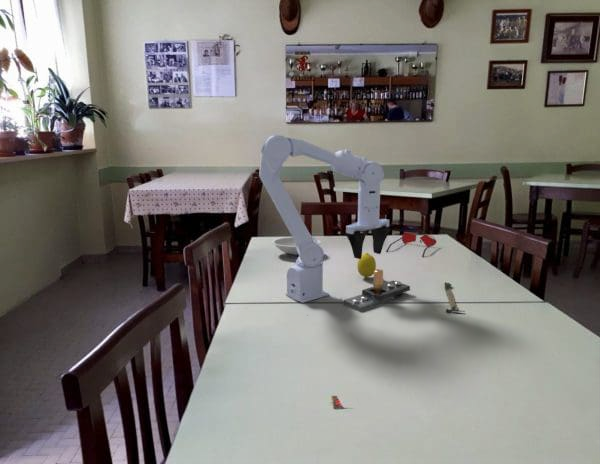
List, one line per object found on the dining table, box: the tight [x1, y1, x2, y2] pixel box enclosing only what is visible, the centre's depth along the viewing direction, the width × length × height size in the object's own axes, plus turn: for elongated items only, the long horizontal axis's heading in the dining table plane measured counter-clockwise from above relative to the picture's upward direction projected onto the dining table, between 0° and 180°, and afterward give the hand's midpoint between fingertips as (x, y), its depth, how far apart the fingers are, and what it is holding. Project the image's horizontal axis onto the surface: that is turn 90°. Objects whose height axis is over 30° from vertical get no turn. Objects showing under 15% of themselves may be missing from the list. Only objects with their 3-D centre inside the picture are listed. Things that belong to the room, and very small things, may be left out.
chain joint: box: [343, 280, 411, 312], centre depth 120 cm, size 19×6×3 cm, turn 127°
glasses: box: [385, 232, 437, 258], centre depth 168 cm, size 14×16×5 cm
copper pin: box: [372, 268, 384, 294], centre depth 119 cm, size 2×2×8 cm
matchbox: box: [330, 394, 344, 410], centre depth 76 cm, size 5×5×1 cm
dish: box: [271, 236, 322, 257], centre depth 162 cm, size 18×14×5 cm
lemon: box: [356, 252, 377, 279], centre depth 136 cm, size 6×6×8 cm
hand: (367, 255), depth 124 cm, fingers open, 7 cm apart
